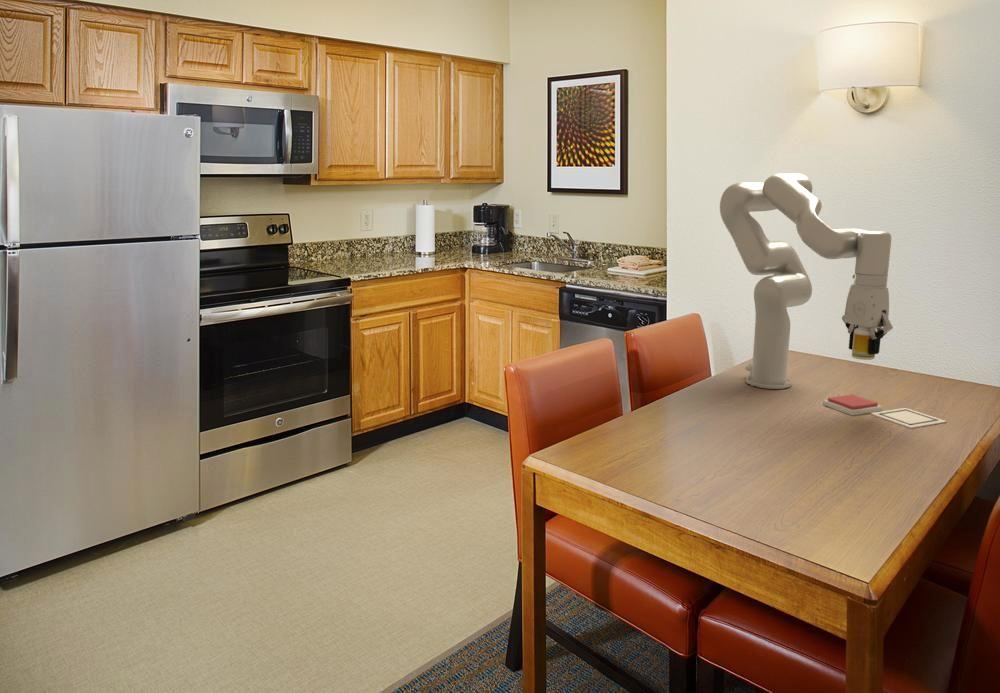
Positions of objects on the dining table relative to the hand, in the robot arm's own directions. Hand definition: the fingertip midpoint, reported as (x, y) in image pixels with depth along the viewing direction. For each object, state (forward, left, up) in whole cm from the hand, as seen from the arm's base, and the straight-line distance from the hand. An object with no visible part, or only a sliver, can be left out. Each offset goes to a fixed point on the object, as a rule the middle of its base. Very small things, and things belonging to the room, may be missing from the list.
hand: (863, 350), depth 197 cm
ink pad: (-1, -1, -16) cm, 16 cm away
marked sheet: (+11, +5, -16) cm, 20 cm away
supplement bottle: (0, 0, -2) cm, 2 cm away
